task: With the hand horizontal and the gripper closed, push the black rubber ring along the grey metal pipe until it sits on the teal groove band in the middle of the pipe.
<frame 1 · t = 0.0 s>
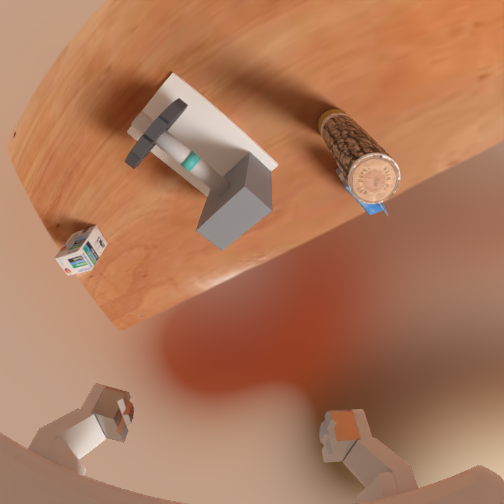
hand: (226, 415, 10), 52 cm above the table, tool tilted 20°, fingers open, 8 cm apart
ring: (155, 133, 45), point 9 cm above the table, slide at 0.0 cm
pipe rig: (200, 144, 55), on the table
light bulb box: (89, 237, 73), on the table
label tape box: (353, 176, 58), on the table
paper tube: (333, 124, 51), on the table
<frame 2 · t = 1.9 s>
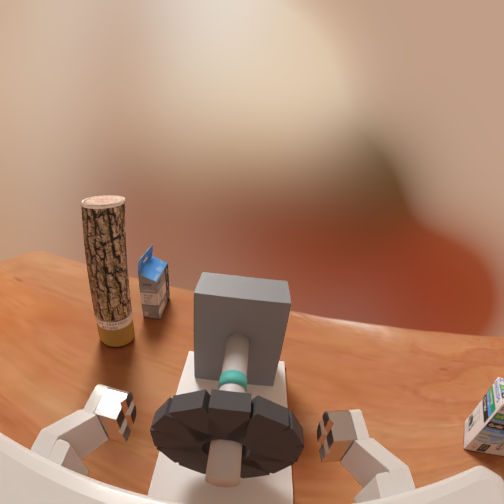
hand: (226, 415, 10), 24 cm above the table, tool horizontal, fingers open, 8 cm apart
ring: (226, 442, 23), point 9 cm above the table, slide at 0.0 cm
pipe rig: (228, 426, 34), on the table
light bulb box: (485, 440, 27), on the table
label tape box: (156, 307, 59), on the table
paper tube: (117, 337, 48), on the table
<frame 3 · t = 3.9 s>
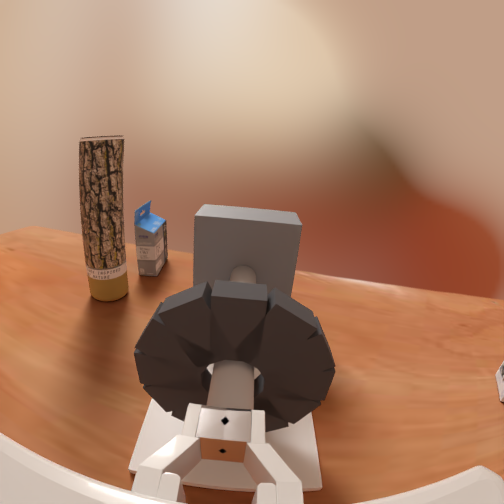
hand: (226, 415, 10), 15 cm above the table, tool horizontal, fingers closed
ring: (233, 373, 20), point 9 cm above the table, slide at 0.0 cm
pipe rig: (234, 379, 31), on the table
label tape box: (153, 267, 56), on the table
paper tube: (109, 293, 44), on the table
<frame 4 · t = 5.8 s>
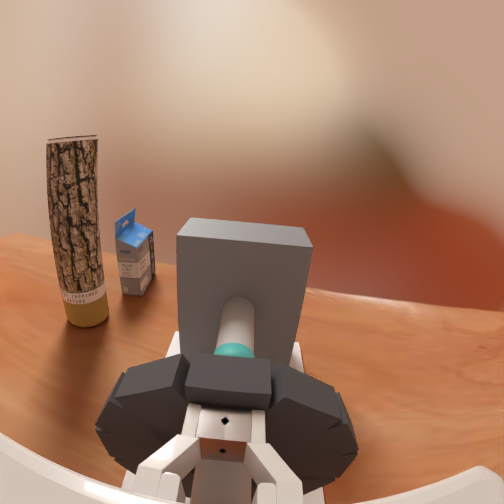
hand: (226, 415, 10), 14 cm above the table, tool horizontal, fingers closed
ring: (224, 454, 13), point 9 cm above the table, slide at 0.4 cm, touching gripper
pipe rig: (228, 431, 24), on the table
label tape box: (139, 284, 49), on the table
paper tube: (88, 317, 37), on the table
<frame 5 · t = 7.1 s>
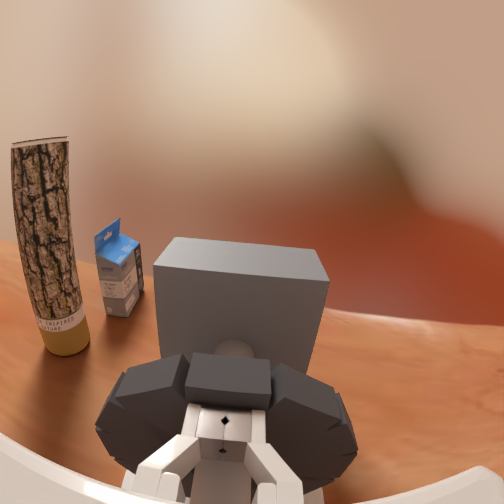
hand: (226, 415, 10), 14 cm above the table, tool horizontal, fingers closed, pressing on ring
ring: (224, 453, 13), point 9 cm above the table, slide at 6.9 cm, touching gripper
pipe rig: (223, 489, 18), on the table
label tape box: (125, 302, 42), on the table
paper tube: (68, 343, 31), on the table
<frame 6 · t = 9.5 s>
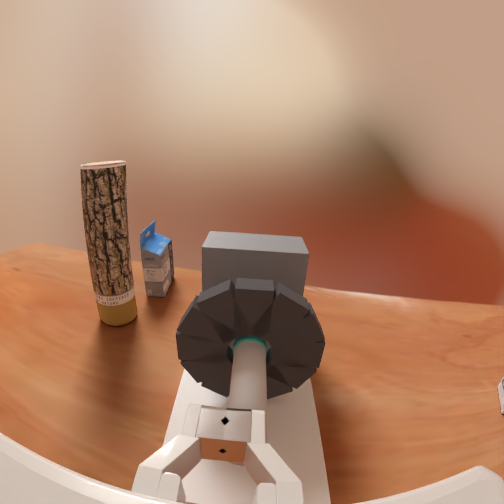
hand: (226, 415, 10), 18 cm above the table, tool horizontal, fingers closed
ring: (250, 347, 28), point 9 cm above the table, slide at 7.9 cm
pipe rig: (245, 403, 31), on the table
label tape box: (160, 287, 56), on the table
paper tube: (119, 317, 45), on the table
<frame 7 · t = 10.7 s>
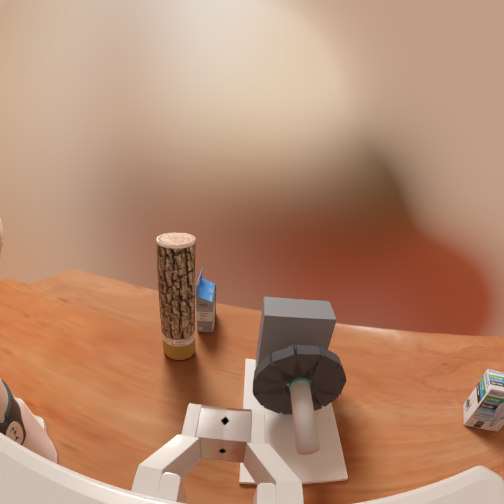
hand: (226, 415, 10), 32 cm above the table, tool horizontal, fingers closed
ring: (299, 383, 41), point 9 cm above the table, slide at 7.9 cm
pipe rig: (289, 416, 44), on the table
light bulb box: (480, 419, 38), on the table
label tape box: (206, 322, 69), on the table
paper tube: (179, 351, 58), on the table
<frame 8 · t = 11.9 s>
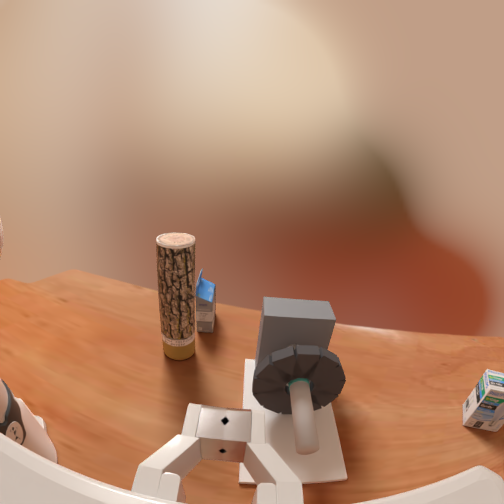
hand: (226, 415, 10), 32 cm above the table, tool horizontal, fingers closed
ring: (298, 383, 41), point 9 cm above the table, slide at 7.9 cm
pipe rig: (288, 416, 45), on the table
light bulb box: (479, 419, 38), on the table
label tape box: (205, 322, 69), on the table
paper tube: (179, 351, 58), on the table
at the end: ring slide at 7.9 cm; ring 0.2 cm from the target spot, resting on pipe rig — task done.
